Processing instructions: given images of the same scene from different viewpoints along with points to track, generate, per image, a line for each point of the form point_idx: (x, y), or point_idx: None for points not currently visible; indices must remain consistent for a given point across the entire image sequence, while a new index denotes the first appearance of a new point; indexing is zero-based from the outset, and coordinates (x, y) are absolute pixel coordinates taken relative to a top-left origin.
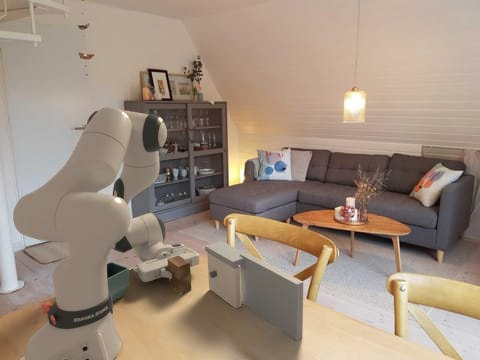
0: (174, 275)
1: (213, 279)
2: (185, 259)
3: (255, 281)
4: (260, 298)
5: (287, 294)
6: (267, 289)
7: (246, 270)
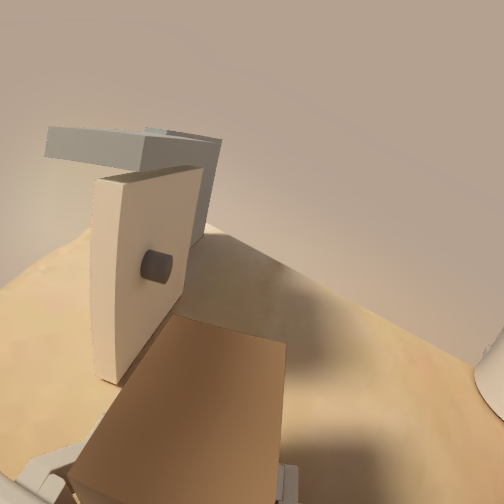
0: None
1: (135, 307)
2: (5, 478)
3: None
4: None
5: (211, 166)
6: None
7: None
